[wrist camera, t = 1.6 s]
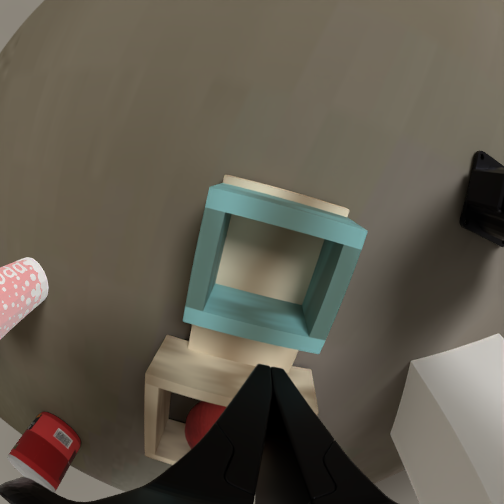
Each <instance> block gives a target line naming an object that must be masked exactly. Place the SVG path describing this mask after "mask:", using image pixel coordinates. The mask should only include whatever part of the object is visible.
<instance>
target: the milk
mask: <svg viewBox="0 0 504 504" xmlns="http://www.w3.org/2000/svg"><path fill="white" fill-rule="evenodd" d="M390 435H391V438H392V440H393V442H394V444H395V447H396V449H397V451H398V453H399V456H400V458H401V460H402V463H403V465H404V467H405V470H406V472H407V475H408V477H409V479H410V482H411V484H412V487H413V489H414V492H415V494H416V497H417V499H418V502H419V504H504V338H503V337H502V336H501V335H500V334H499V333H498V334H495V335H493V336H490V337H487V338H485V339H482V340H479V341H476V342H473V343H470V344H467V345H464V346H461V347H458V348H455V349H452V350H449V351H445V352H442V353H438V354H435V355H431V356H428V357H424V358H420V359H416V360H412V361H411V362H410V366H409V370H408V375H407V379H406V383H405V387H404V390H403V394H402V398H401V401H400V405H399V408H398V411H397V415H396V418H395V421H394V424H393V427H392V430H391V433H390Z"/></svg>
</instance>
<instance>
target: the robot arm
mask: <svg viewBox="0 0 504 504" xmlns="http://www.w3.org/2000/svg"><path fill="white" fill-rule="evenodd" d="M480 155H481V158H480ZM465 220H466V223H465ZM460 225H461V226H462V227H463V228H466V229H468V230H470V231H472V232H474V233H476V234H478V235H480V236H482V237H484V238H486V239H488V240H490V241H491V242H493V243H495V244H497V245H499V246H501V247H504V166H503V165H501V164H500V163H499V162H497V161H496V160H495V159H493V158H492V157H491V156H489V155H488V154H486V153H485V152H483V151H477V152H476V154H475V160H474V165H473V170H472V175H471V179H470V184H469V188H468V192H467V196H466V200H465V204H464V207H463V211H462V214H461V218H460ZM0 495H1V496H2V497H3V498H5V499H6V500H7V501H8V502H9V503H10V504H253V502H254V496H255V504H398V503H396V502H394V501H393V500H391V499H390V498H388V497H387V496H386V495H385V494H384V493H383V492H382V491H381V490H380V489H378V487H377V486H375V485H374V484H373V483H372V482H371V481H370V480H369V479H368V478H367V477H366V476H365V475H364V474H363V473H362V472H361V471H360V470H359V468H358V467H357V466H356V465H355V464H354V463H353V462H352V461H351V460H350V459H349V457H348V456H347V455H346V454H345V452H344V451H343V450H342V449H341V447H340V446H339V445H338V443H337V442H336V441H334V438H333V437H332V436H331V434H330V433H329V432H328V430H327V429H326V427H325V426H324V425H323V423H322V422H321V421H320V419H319V418H318V417H317V415H316V414H315V412H314V411H313V410H312V408H311V407H310V406H309V404H308V403H307V401H306V400H305V399H304V397H303V396H302V394H301V393H300V392H299V390H298V389H297V387H296V386H295V385H294V383H293V382H292V380H291V379H290V377H289V376H288V375H287V373H286V372H285V370H284V369H282V368H278V367H271V368H270V366H268V365H263V364H257V365H256V367H255V368H254V370H253V371H252V373H251V374H250V375H249V377H248V378H247V380H246V381H245V382H244V384H243V385H242V387H241V388H240V389H239V391H238V392H237V394H236V395H235V396H234V398H233V399H232V400H231V402H230V403H229V405H228V406H227V407H226V409H225V410H224V411H223V413H222V414H221V415H220V417H219V418H218V419H217V421H216V422H215V423H214V424H213V426H212V427H211V428H210V429H209V431H208V432H207V433H206V434H205V435H204V437H203V438H202V439H201V440H200V441H199V442H198V443H197V444H196V445H195V446H194V447H193V448H192V449H191V450H190V451H189V452H188V453H187V454H185V455H184V456H183V457H182V458H181V459H179V460H178V461H177V462H176V463H175V464H173V465H172V466H171V467H170V468H169V469H167V470H166V471H165V472H164V473H162V474H161V475H160V476H158V477H157V478H156V479H154V480H153V481H151V482H150V483H148V484H146V485H144V486H142V487H140V488H137V489H134V490H131V491H127V492H124V493H121V494H118V495H114V496H111V497H107V498H103V499H100V500H96V501H91V502H76V501H72V500H68V499H66V498H63V497H61V496H59V495H57V494H56V493H54V492H52V491H51V490H49V489H47V488H46V487H44V486H42V485H41V484H39V483H37V482H35V481H34V480H32V479H29V478H26V477H21V478H18V479H15V480H12V481H8V482H5V483H4V484H2V485H0Z"/></svg>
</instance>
